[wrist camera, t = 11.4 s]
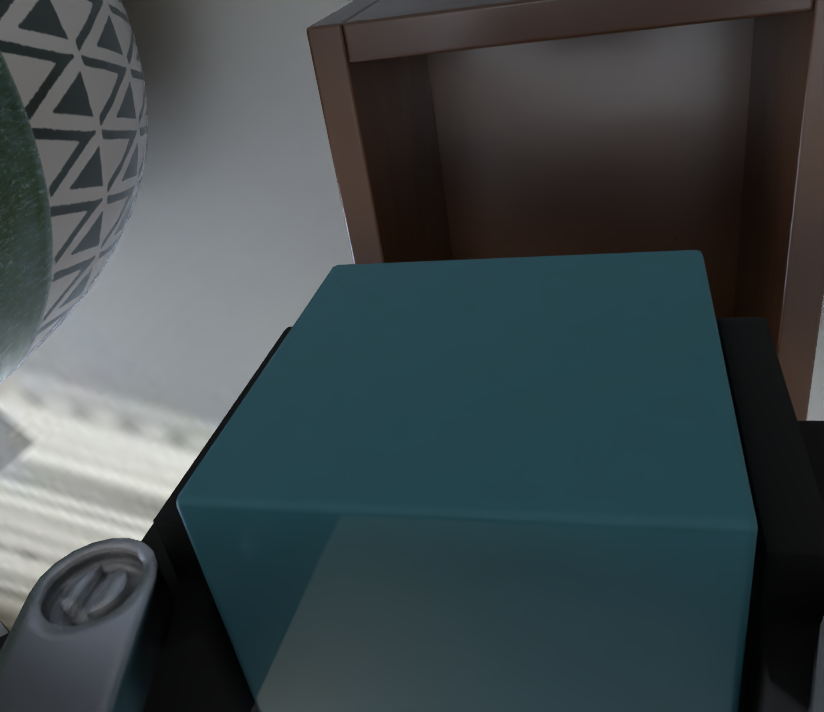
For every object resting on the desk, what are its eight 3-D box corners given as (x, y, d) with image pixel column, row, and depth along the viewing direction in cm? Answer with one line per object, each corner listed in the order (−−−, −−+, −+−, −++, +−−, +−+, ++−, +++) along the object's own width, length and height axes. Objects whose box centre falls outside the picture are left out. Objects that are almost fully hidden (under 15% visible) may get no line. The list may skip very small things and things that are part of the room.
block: (702, 247, 9) (760, 525, 5) (689, 534, 12) (723, 868, 8) (332, 262, 10) (169, 501, 7) (389, 520, 13) (292, 804, 9)
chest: (395, -25, 26) (304, 27, 18) (790, -80, 22) (870, -45, 15) (447, 338, 33) (397, 480, 25) (754, 334, 30) (796, 495, 22)
